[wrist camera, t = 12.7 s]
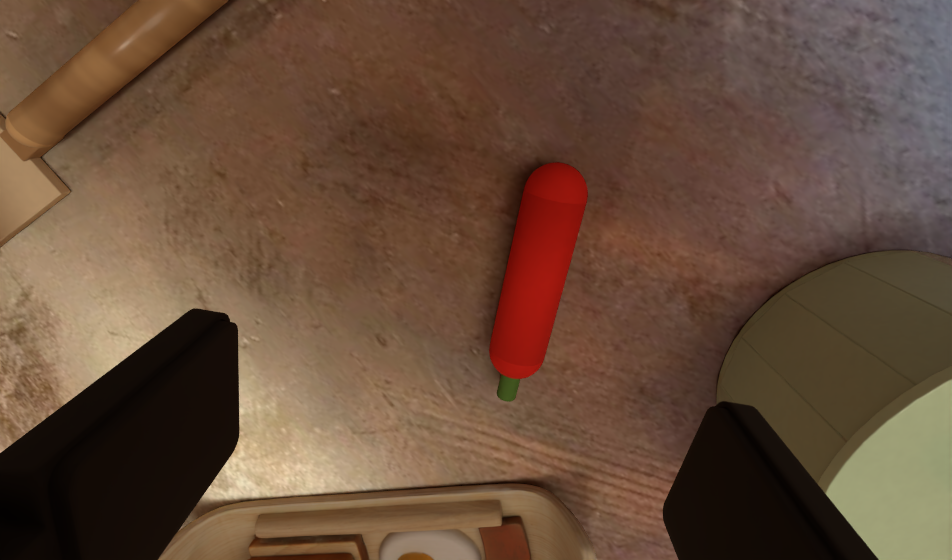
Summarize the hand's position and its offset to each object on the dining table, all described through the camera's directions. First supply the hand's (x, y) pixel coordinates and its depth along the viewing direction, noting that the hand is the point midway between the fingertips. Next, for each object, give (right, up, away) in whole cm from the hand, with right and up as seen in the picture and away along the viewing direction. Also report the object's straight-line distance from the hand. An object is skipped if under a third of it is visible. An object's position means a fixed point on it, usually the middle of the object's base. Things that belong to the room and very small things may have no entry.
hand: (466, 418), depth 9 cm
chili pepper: (+2, +3, +13) cm, 14 cm away
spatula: (-19, +10, +12) cm, 25 cm away
